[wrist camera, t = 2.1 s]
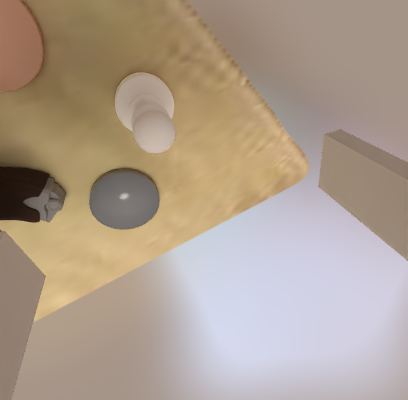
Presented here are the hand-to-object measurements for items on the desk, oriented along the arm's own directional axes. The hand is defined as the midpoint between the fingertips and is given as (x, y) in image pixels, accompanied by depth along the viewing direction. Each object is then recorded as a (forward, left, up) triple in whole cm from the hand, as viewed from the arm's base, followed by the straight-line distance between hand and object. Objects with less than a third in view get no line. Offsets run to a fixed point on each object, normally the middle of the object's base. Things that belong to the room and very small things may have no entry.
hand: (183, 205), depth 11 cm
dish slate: (+9, -5, -16) cm, 19 cm away
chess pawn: (0, 0, -16) cm, 16 cm away
